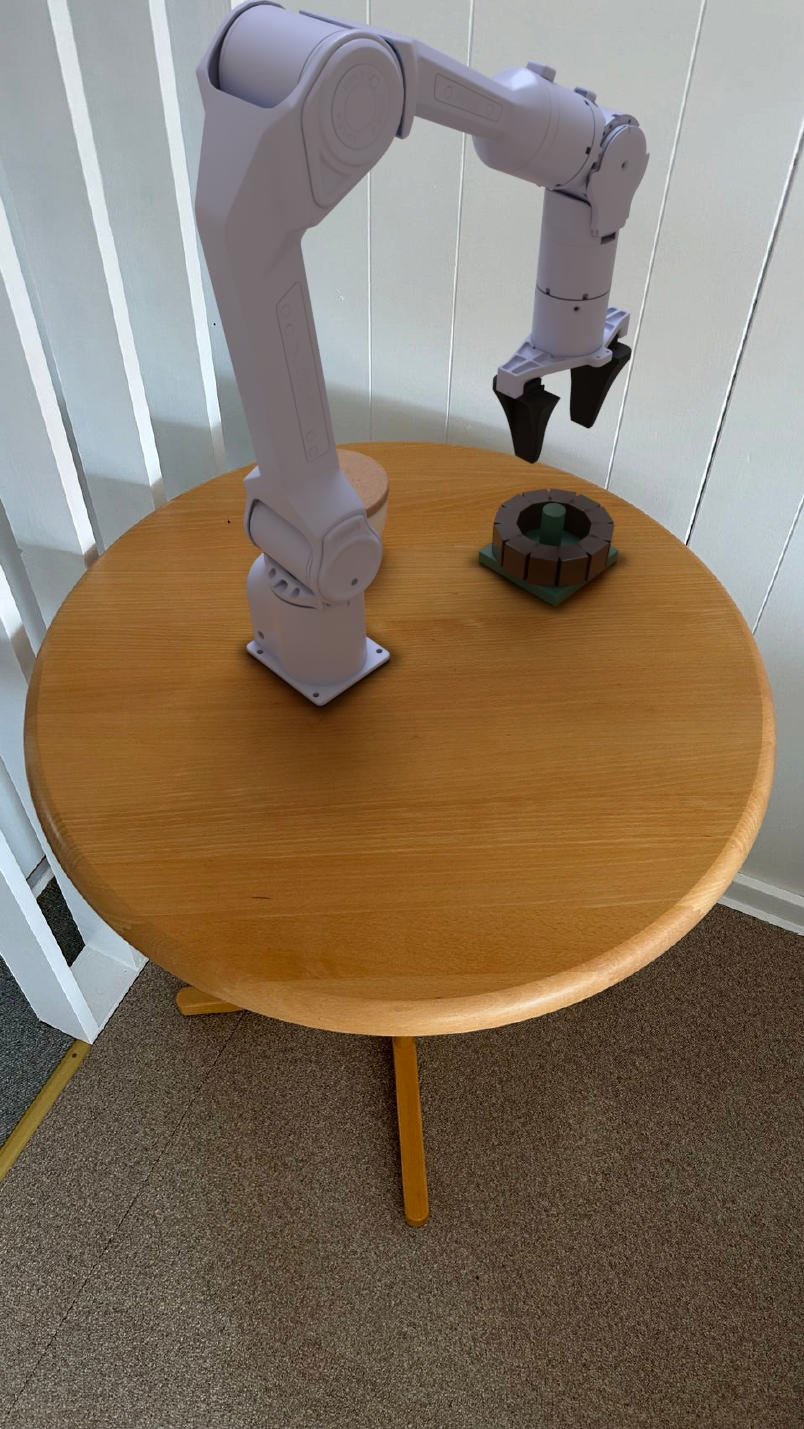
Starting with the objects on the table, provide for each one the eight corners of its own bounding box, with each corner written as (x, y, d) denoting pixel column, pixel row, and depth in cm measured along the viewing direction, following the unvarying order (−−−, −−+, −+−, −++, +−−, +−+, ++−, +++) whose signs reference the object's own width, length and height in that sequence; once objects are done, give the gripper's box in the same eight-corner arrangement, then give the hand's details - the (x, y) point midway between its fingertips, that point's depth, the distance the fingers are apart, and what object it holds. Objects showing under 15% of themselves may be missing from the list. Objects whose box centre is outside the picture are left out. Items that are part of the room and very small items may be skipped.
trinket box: (376, 597, 86) (373, 509, 79) (260, 582, 87) (247, 494, 80) (400, 524, 93) (399, 438, 86) (293, 512, 94) (283, 426, 87)
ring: (469, 550, 88) (470, 523, 86) (543, 502, 93) (546, 475, 91) (558, 603, 83) (562, 576, 81) (631, 550, 88) (637, 523, 86)
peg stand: (478, 561, 89) (481, 510, 85) (541, 519, 93) (547, 468, 89) (554, 607, 84) (562, 555, 80) (617, 560, 89) (627, 509, 84)
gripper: (553, 333, 69) (536, 494, 79) (671, 270, 76) (641, 425, 86) (480, 302, 72) (472, 460, 82) (599, 244, 79) (578, 396, 89)
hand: (554, 440), depth 84 cm, fingers open, 7 cm apart
